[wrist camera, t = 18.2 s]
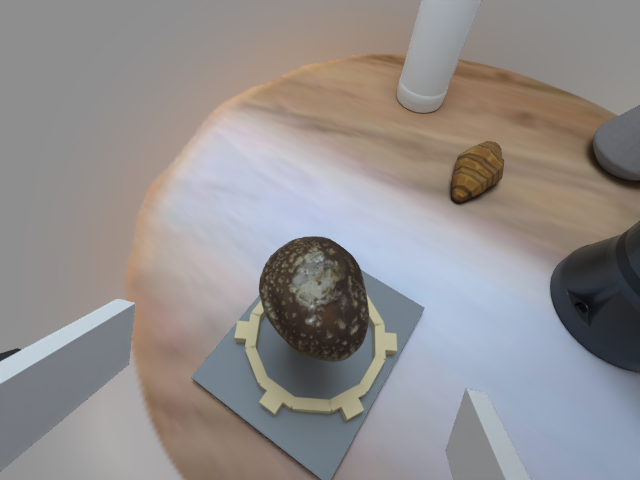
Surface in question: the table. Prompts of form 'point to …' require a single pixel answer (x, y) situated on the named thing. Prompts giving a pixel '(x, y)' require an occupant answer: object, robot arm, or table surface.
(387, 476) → the table surface
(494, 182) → the croissant
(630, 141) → the coffee pot
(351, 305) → the mushroom
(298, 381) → the gear board
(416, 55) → the bottle
